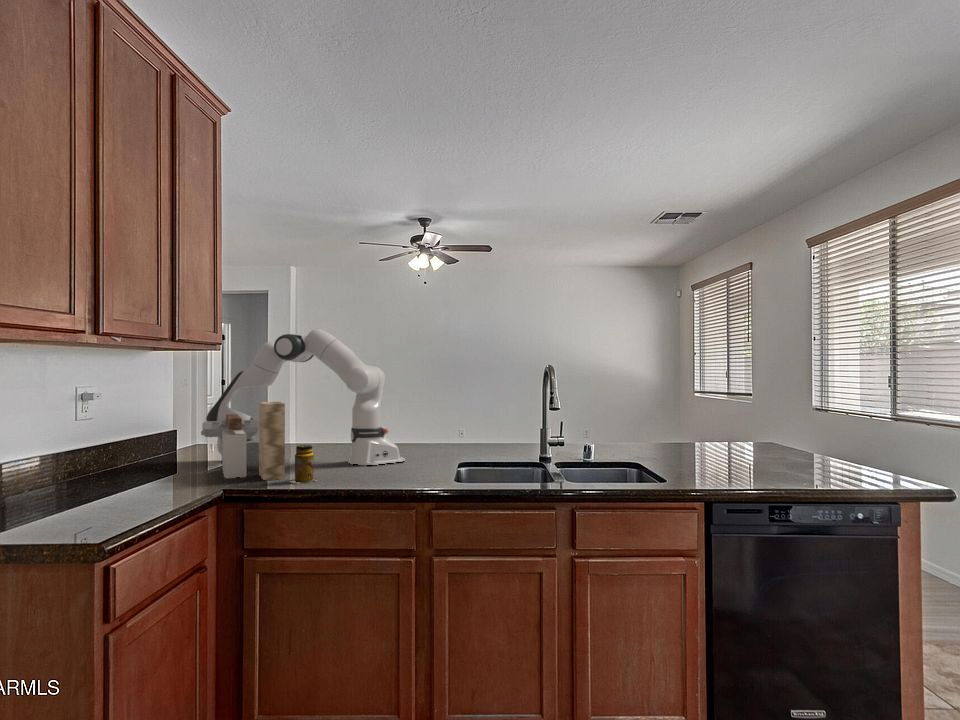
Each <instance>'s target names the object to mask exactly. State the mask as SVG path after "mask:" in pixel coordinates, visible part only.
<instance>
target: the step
mask: <svg viewBox="0 0 960 720" xmlns="http://www.w3.org/2000/svg"><path fill="white" fill-rule="evenodd" d="M247 443H248V442H247V434H246V433H245V432H244V431H243V430H237V431H223V456H222V471H223V472H222V475H223V474H224V475H223V477H225V478H227V479H237V478H236V477H240V478H247V460H248V459H247V456H248V455H247V450H248V449H247V445H248V444H247ZM225 478H224V479H225Z"/></svg>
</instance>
